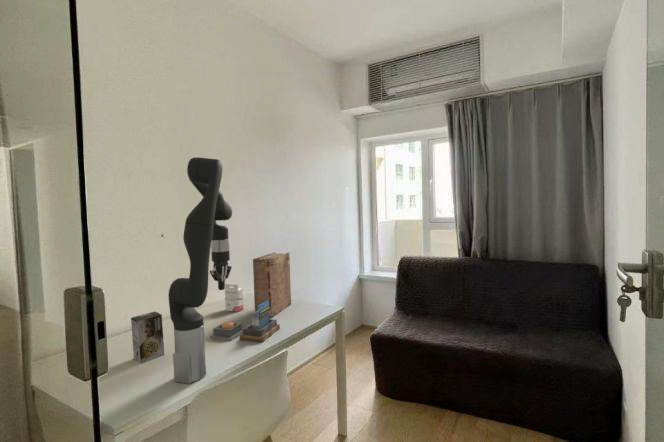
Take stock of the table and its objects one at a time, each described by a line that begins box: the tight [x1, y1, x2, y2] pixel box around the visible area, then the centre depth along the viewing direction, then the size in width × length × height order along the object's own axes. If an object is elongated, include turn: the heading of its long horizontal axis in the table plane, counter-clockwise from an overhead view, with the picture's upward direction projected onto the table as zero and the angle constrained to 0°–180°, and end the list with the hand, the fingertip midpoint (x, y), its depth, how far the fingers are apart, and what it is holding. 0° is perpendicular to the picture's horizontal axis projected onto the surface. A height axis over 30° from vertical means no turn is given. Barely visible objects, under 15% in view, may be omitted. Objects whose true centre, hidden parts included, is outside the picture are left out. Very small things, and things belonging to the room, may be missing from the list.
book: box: [252, 251, 292, 319], centre depth 188 cm, size 25×9×30 cm, turn 163°
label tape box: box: [251, 301, 270, 330], centre depth 153 cm, size 9×4×12 cm, turn 163°
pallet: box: [239, 318, 281, 343], centre depth 154 cm, size 16×11×4 cm
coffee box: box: [130, 311, 165, 364], centre depth 133 cm, size 9×6×16 cm
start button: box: [221, 321, 235, 329], centre depth 154 cm, size 5×5×4 cm
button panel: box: [209, 322, 243, 341], centre depth 154 cm, size 11×11×4 cm
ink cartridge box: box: [224, 283, 244, 313], centre depth 191 cm, size 9×5×15 cm, turn 73°
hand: (221, 289), depth 152 cm, fingers closed
